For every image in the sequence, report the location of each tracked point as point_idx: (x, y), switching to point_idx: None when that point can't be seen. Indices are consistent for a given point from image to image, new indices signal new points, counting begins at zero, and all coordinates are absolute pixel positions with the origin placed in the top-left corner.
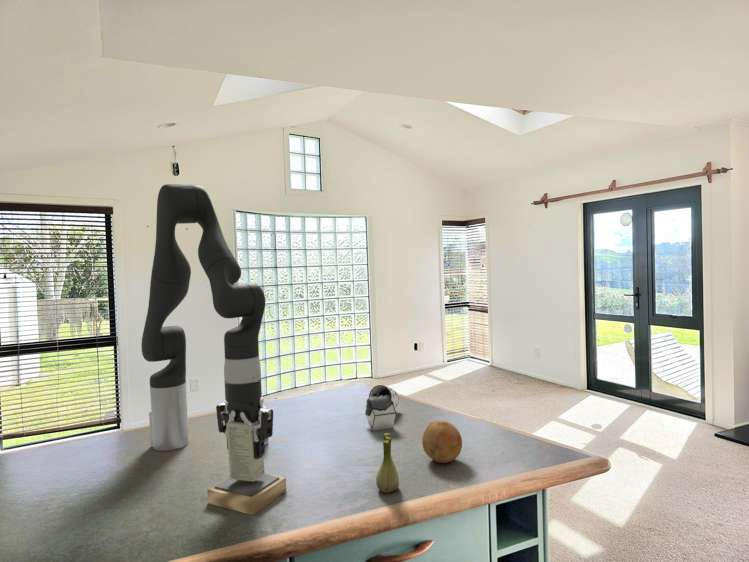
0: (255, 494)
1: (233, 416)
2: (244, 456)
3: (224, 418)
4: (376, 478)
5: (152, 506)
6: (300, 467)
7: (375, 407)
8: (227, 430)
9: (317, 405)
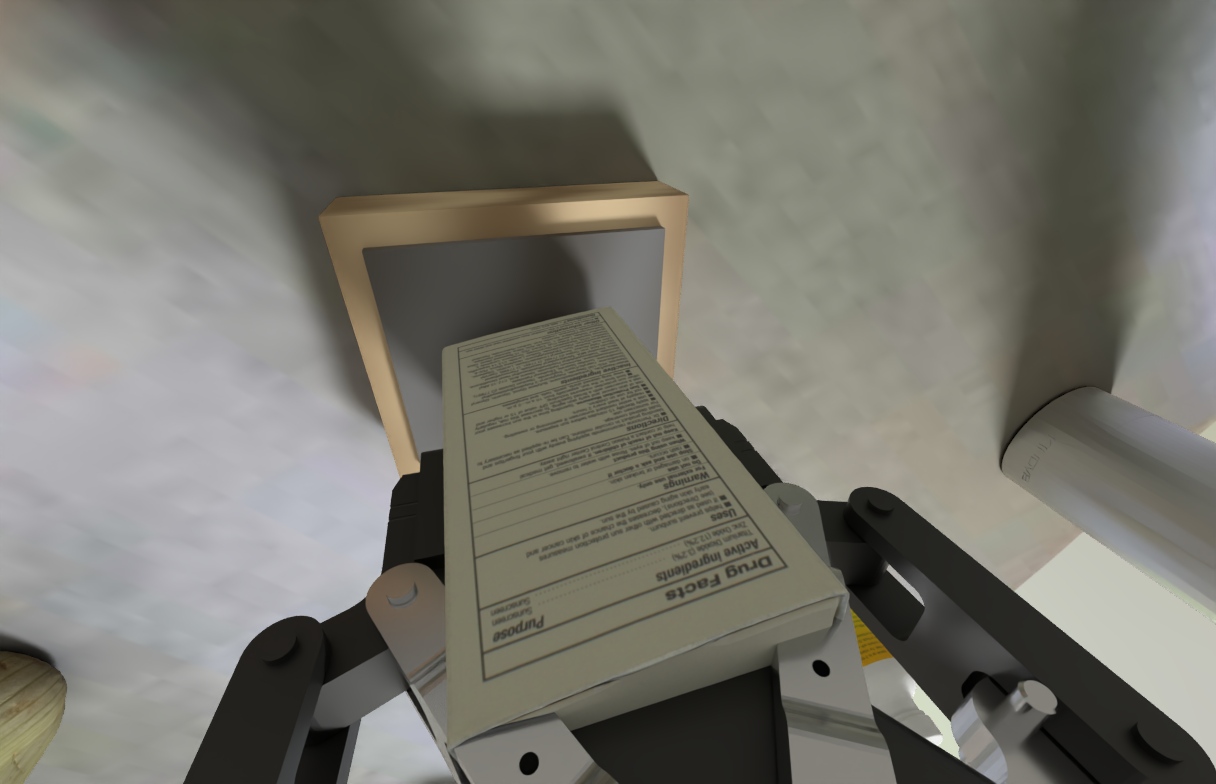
0: (372, 284)
1: (810, 754)
2: (518, 416)
3: (937, 632)
4: (8, 700)
5: (903, 11)
6: None
7: None
8: (776, 521)
9: None
